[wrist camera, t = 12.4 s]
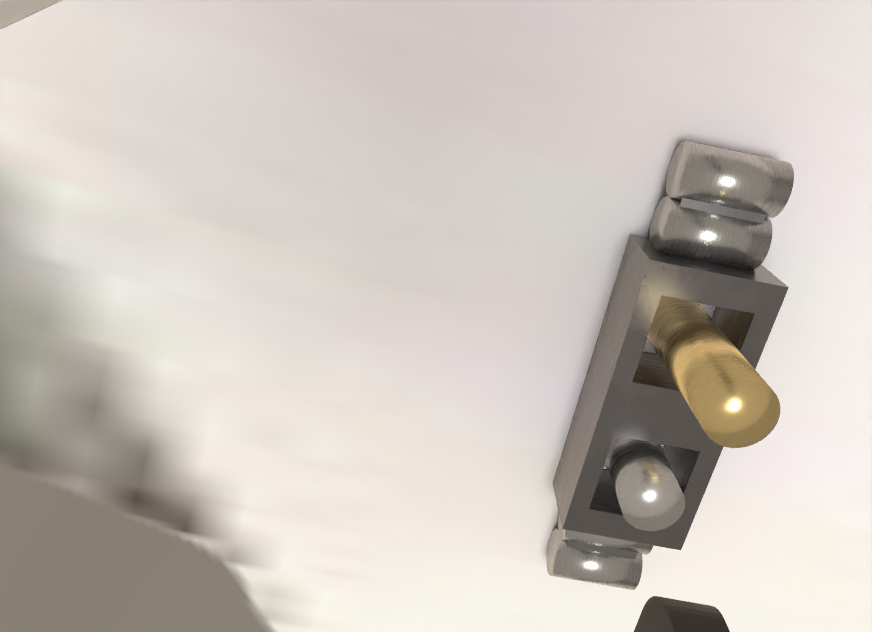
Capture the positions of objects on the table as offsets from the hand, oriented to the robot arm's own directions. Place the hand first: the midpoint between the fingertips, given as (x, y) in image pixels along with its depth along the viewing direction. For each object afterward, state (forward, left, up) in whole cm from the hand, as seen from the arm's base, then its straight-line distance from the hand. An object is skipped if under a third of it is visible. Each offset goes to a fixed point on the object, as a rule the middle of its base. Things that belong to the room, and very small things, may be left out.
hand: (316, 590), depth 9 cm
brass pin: (+5, +14, -28) cm, 32 cm away
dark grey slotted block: (+9, +14, -28) cm, 33 cm away
